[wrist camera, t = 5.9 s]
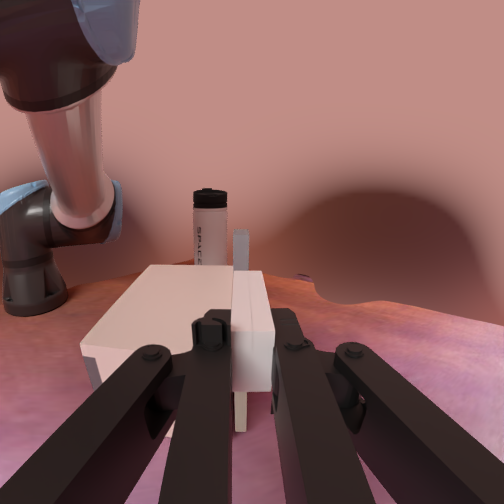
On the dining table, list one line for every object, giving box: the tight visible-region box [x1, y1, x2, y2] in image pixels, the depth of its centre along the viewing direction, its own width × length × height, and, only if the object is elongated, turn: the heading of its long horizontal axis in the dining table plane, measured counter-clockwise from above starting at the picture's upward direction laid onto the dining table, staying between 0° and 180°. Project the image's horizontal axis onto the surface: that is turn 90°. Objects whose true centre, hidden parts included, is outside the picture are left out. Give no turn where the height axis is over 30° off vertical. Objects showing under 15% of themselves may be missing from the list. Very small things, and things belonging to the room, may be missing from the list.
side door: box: [233, 229, 249, 432], centre depth 26 cm, size 11×1×18 cm, turn 3°
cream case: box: [79, 265, 233, 437], centre depth 32 cm, size 22×12×10 cm, turn 3°
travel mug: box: [193, 188, 227, 265], centre depth 56 cm, size 6×7×20 cm
